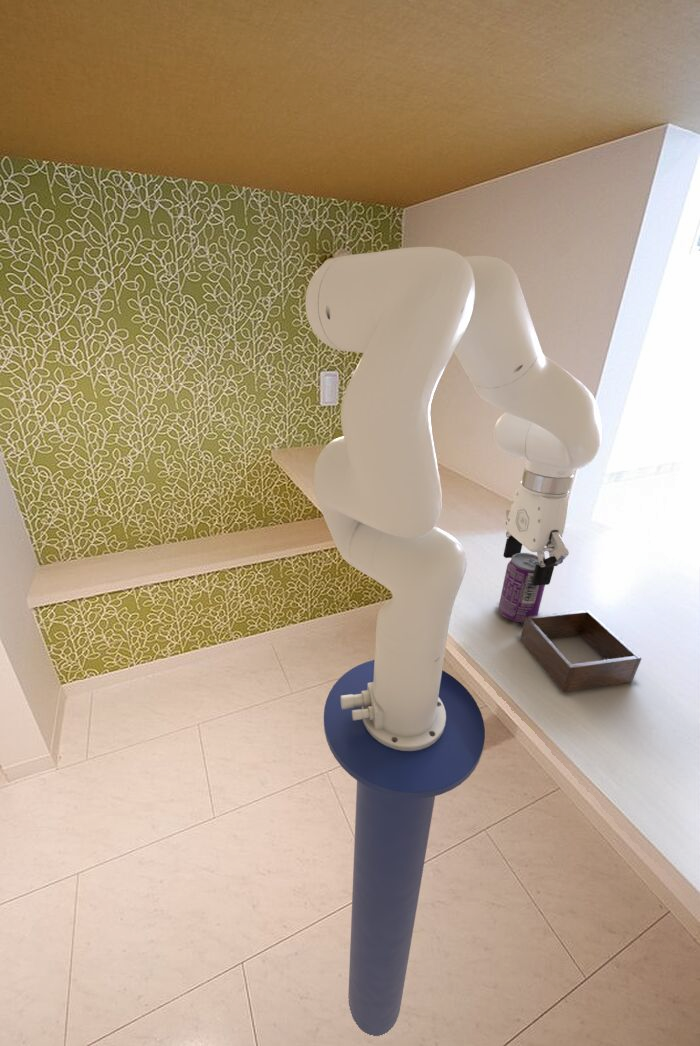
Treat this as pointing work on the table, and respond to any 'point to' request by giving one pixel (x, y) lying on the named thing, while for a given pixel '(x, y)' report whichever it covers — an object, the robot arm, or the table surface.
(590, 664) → the crate
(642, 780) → the table surface
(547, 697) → the table surface
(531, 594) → the beverage can
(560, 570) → the table surface
